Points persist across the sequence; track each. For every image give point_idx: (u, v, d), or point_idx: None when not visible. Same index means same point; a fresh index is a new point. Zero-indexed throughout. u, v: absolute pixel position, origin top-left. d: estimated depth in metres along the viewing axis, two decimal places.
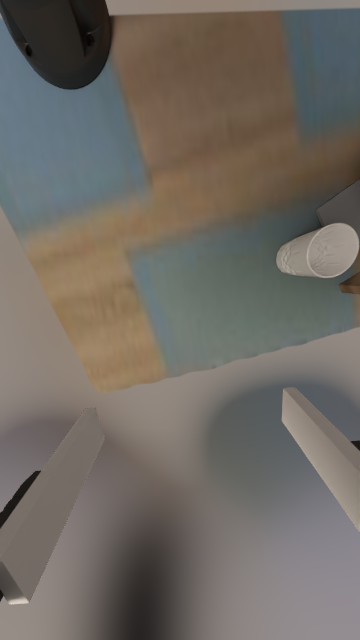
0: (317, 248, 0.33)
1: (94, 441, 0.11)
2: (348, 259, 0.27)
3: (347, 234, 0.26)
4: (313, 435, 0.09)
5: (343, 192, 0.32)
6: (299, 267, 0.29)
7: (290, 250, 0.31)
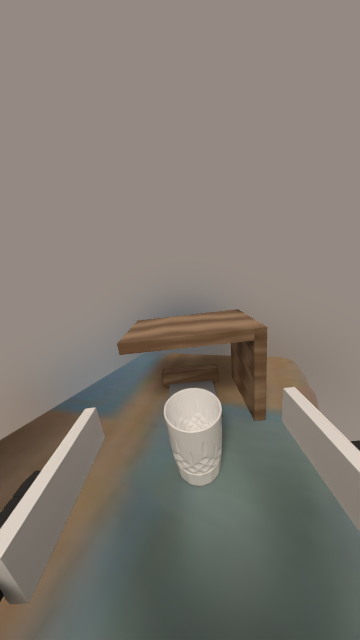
0: (197, 427, 0.28)
1: (94, 441, 0.11)
2: (210, 398, 0.26)
3: (187, 395, 0.27)
4: (313, 435, 0.09)
5: None
6: (197, 446, 0.20)
7: (176, 453, 0.22)
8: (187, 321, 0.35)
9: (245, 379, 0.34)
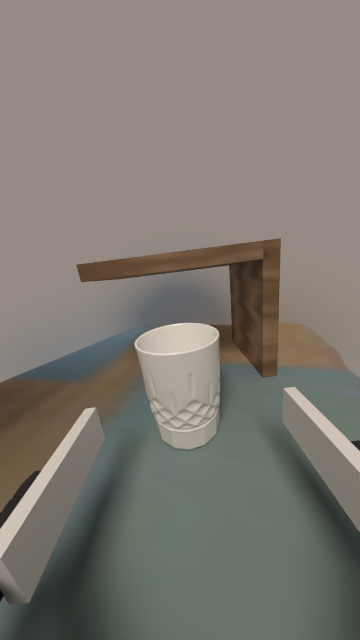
0: None
1: (94, 441, 0.11)
2: (204, 332, 0.18)
3: (172, 333, 0.20)
4: (313, 435, 0.09)
5: None
6: (181, 380, 0.13)
7: (153, 399, 0.15)
8: None
9: (250, 328, 0.27)
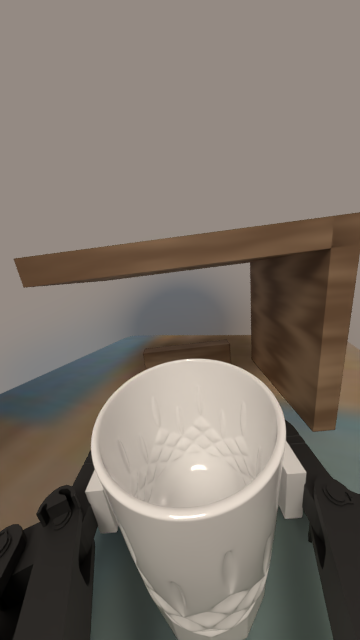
0: (200, 448, 0.13)
1: None
2: (234, 380, 0.10)
3: (175, 376, 0.12)
4: None
5: None
6: (204, 569, 0.05)
7: None
8: None
9: (288, 353, 0.18)
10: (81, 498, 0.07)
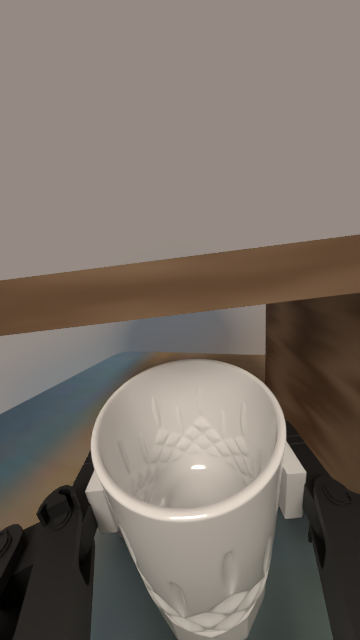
0: (201, 449, 0.13)
1: None
2: (234, 380, 0.10)
3: (175, 376, 0.12)
4: None
5: None
6: (204, 569, 0.05)
7: None
8: None
9: (329, 415, 0.13)
10: (81, 498, 0.07)
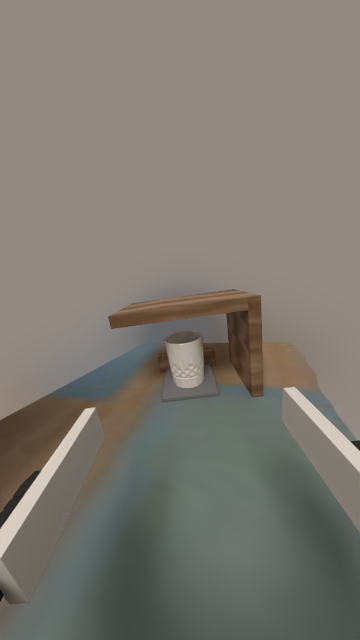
0: None
1: (94, 441, 0.11)
2: (196, 335, 0.37)
3: (180, 335, 0.39)
4: (313, 435, 0.09)
5: (165, 383, 0.37)
6: (185, 355, 0.32)
7: (173, 365, 0.34)
8: (181, 299, 0.35)
9: (242, 356, 0.33)
10: None
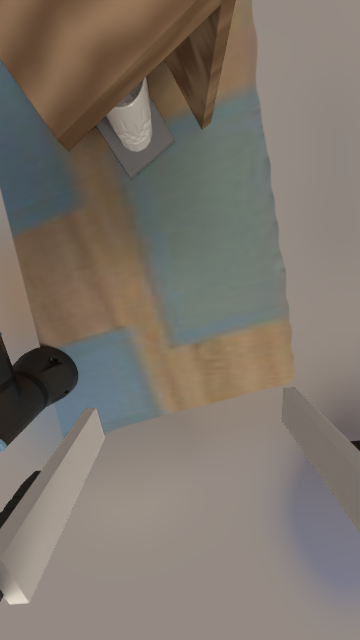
0: None
1: (94, 441, 0.11)
2: None
3: None
4: (313, 435, 0.09)
5: (115, 152, 0.34)
6: (138, 115, 0.26)
7: (124, 133, 0.29)
8: None
9: (192, 71, 0.27)
10: None
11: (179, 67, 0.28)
